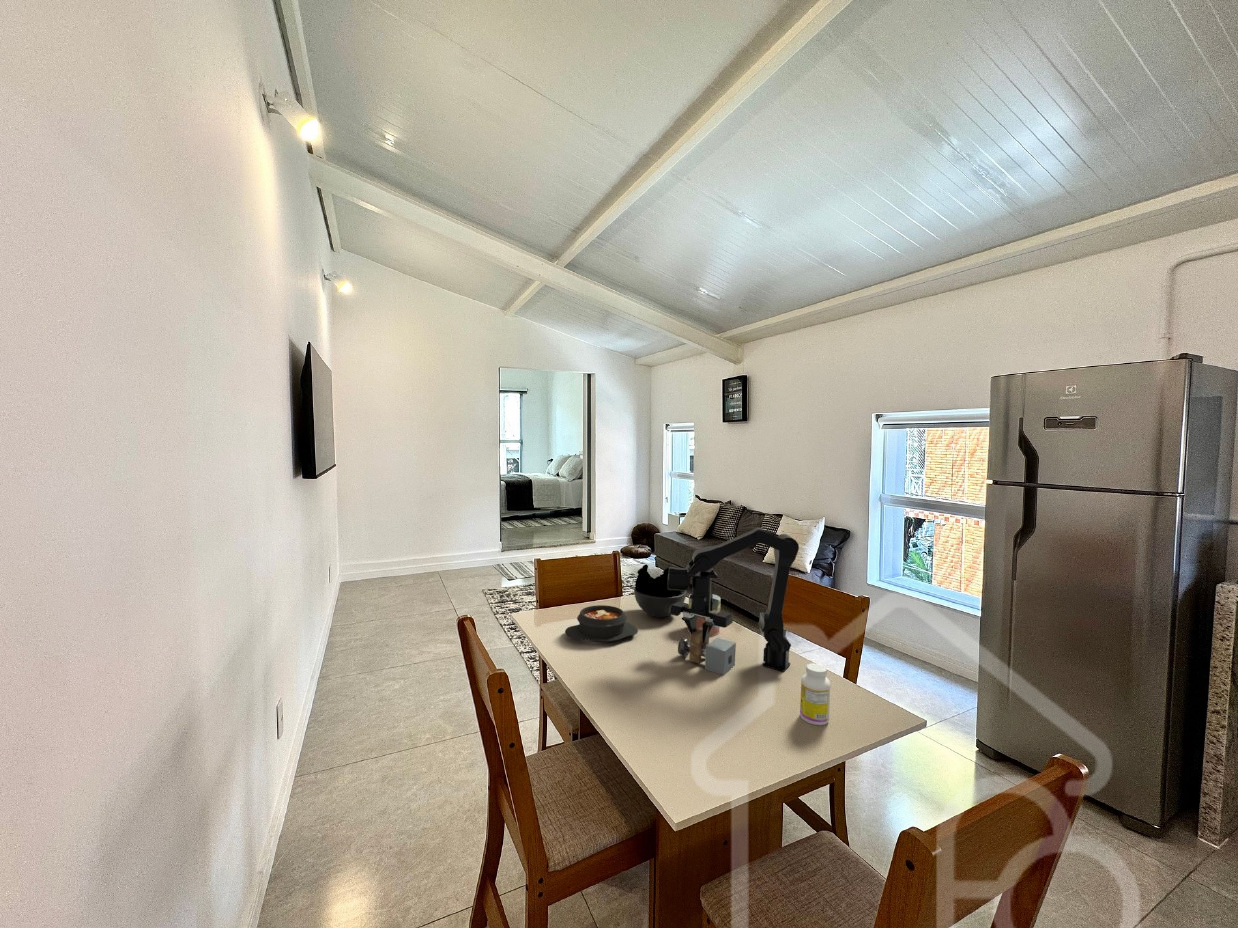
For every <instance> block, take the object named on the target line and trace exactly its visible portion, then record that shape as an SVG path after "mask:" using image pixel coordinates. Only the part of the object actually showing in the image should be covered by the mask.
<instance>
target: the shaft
mask: <svg viewBox="0 0 1238 928" xmlns="http://www.w3.org/2000/svg"><path fill="white" fill-rule="evenodd" d="M689 653H690V639H688V638H685V637H682V638H681V639H680V640H679V642H678V645H677V654H679V655H680V656H684V657H688V656H689ZM703 656H705V657H706V650H705V649H702V648H701V657H703ZM705 657H704V658H705Z"/></svg>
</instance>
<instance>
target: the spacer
mask: <svg viewBox="0 0 1238 928" xmlns="http://www.w3.org/2000/svg"><path fill="white" fill-rule="evenodd" d="M689 640H690V653H689V654H688V656H689V657H688V661H690V662H693V663H697V664H699V663H700V662H701V661H702V657H704V658H705V656H701V648H702V649H705V650H706V645H708V644H709V643H710V637H709V636H708V638H707V641H706V643H703V629H702V628H699V629H698V630H696V631H694V632H693V633H691V634H689Z"/></svg>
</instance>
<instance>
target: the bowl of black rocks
mask: <svg viewBox="0 0 1238 928" xmlns="http://www.w3.org/2000/svg"><path fill="white" fill-rule="evenodd" d="M669 567H670V566H668V567H667V568H665V569H664V570H662V574H660V575H657V576H656V577H653V576H651V575H650V573H649V572H648V569H649V565H648V564H645V563H644V565H642V567H641V568H639V569H638V570H637V577H636V580H635V584H634V585H635V586H634V588H633V594H634V598H635V601H636V603H637V605H638V606H639V607H640V609H641V610H642V611H643V612H645V613H646V614H648V615H650V616H651V617H656V618H666V617H669V616H672V615H671V614H670V606H671V605H673V604H675V603H677V602H683V603H685V601H686V597H687V590H686V591H681V590H668V576H669Z"/></svg>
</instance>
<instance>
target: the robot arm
mask: <svg viewBox="0 0 1238 928" xmlns="http://www.w3.org/2000/svg"><path fill="white" fill-rule="evenodd" d="M758 544H762V545H764V546H768V547H770V548H772V549H773V554H774V562H775V563H774V568H773V576H772V580H771V581H772V582H771V587H770V592H769V599H768V603H767V608H766V610H765V612H762V611H760V612H759V621H758V622H757V626H758V627H759V630H760V632H761V634H762V636H763V638H764V640H765V641H766V643H765V647H764V648H763V656H762V657H763V658H762V659H763V663H762V666H763V667H766V668H769V669H773V670H777V671H781V672H786V670H787V669H788V668H789V667H790V665H791V662H789V661H790V660H789V659H790V649H791V647H792V644H791V642H790V641H789V639H788V638H787V636H786V635H785V634H784V632H785V631H784V629H785V628H784V627H785V626H784V625H785V624H784V619H783V611H784V604H785V599H786V592H787V587H788V583H789V577H790V570H791V567H792V566H793V564H794V562H795V560H796V558H797V556H798V553H799V550H800V546H799V543H798V541H797V540H796V539H795V538H793V537H792V536H790V535H789V534H787V533H781V534H777V533H775V532H772V531H768V530H765V529H763V528H761V527H758V526H757V527H755V528H753V529H751V530H750V531H747V532H745V533H743V534H741V535H738V536H736V537H734V538H731V539H729V540H726V541H724V542H722V543H720V544H717V545H709V546H705V547H704V546H703V547H700V548H697V549H696V550H694V551H693V553H692V559H690V561H689V562H688V563H687V565H686V566H685V567H674V566H668V567H669V576H668V590H681V591H686V592H687V590H688V589H689V588H690V587H691V593H690V594H691V595H690V594H689V595H690V599H692V601H691V608H689V603H686V602H684V603H683V602H677V603H675V604H673V605H671V606H670V614H671V615H670V616H675V617H678V616H680V615H681V614H682V617H681V620H682V621H684V623H685V625H686V627H687V630H688V629H689V631H690V632H689V631H688V632H689V633H690V634H691V633H693V632H694V631H696V630H697V618H698V617H702V618H706V622H704V623H703V624H702V629H703V643H706V641H707V638H708V636H709V633H710V631H711V629H712V627H713V626H714V625H715V626H719V627H720V628H727V627H729V626H730V625H732V624H733V623H734V620H733V619H734V617H733V615H732V613H730V612H725V611H722V610H720V612H718V613H717V614H714V613H710V611H713V610H717V608H718V602H719V600H717V599H713V595H712V594H713V593H712V579H718V578H719V576H718V574H717V572H716V571H714V567H715V566H717V565H718V564H719V563H720V562H721V561H723V560H724V559H726V558H728V557H730V556H733V555H734V554H735V555H736V554H737V553H740V552H742V551H744V550H747V549H749V548H751V547H754V546H755V545H758ZM690 634H689V635H690Z"/></svg>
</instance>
